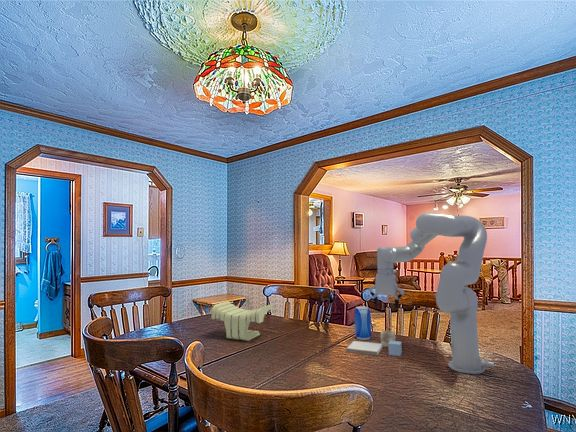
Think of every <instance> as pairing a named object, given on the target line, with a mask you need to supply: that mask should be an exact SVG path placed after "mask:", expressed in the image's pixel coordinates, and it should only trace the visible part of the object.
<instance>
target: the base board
mask: <svg viewBox="0 0 576 432" xmlns="http://www.w3.org/2000/svg"><path fill="white" fill-rule="evenodd" d="M383 348H384V346H383V343H381V342H374V341H373V342H372V341H365V340H353V341H352V342H351V343H350V344H349V345H348V347H346V349H345V352H346V353H352V354H359V355H367V356H376V357H377V356H379V353H380V352H381V351H382V349H383Z"/></svg>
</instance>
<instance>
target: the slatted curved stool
mask: <svg viewBox="0 0 576 432" xmlns="http://www.w3.org/2000/svg"><path fill="white" fill-rule="evenodd" d="M272 309H274V304H273V303H269V304H267V305H265V306H261V307H260V308H258V309H253V310H252V309H251V310H249V309H244V308H241V307H240V308H239V306H236V305H235V304H234V303H232V302H230V301H229V300H227V301H223V302H220V303H219V302H218V303H216V304H214V305H213V306H212V308H211V320H215V319H217V320H221V321H222V322H223V323H224V327H225V333H226V339H230V340H241V341H248V342H249V341H251V340H252V339H255V338H256V337H259V336H260V335H261V333H260V332H259V330H250V329H249V327H250V324H251V323H252V322H253V323H254V322H255V323H257V324H261V323H263V322H264V318H265V315H266V314H267V312H269V311H271V310H272Z"/></svg>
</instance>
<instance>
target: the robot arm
mask: <svg viewBox="0 0 576 432" xmlns="http://www.w3.org/2000/svg"><path fill="white" fill-rule="evenodd" d="M409 236H410V238H411V241H410V242H409V243H407V244H406V245H404V246H381V247H378V248H377V249H376V256H377V257H376V259H377V260H376V261H377V264H376V265H377V273H376V275H375V283H374V285H373V286H371V287H369V288H368V292H369V293H370V296H372V298H373V303H374V306H375V307H378V305H379V297H378V295H381V296H392V297H394V309H397V308H398V307H399V306H400V301H399V300H400V299H401V298H402V297H403V295H404V293H405V290H404V289H403V288H400V287H398V284H397V278H396V277H397V276H396V274H395V273H397V269H394V264H397V263H398V264H399V263H408V262H410V261H412V260H414V259H416V258H417V257H418V256H419V255H420V254H422V252H423V250H424V248H425V246H427V244H429V243H430V242H431V241H432V240H433V239H435V238H436V237H438V236H442V237H449V238H457V237H458V238H460V237H462V238H463V240H462V242H461V244H460V246H459V249H458V253H457V258H456V260H455V261H449V262H447V263H446V264H445V265H444V266H443V267H442V269H441V271H440V274H439V279H438V284H437V289H436V293H435V301H436V306H437V307H438V309H439V310H440V311H441V312H443V313H445V314H448V315H449V314H450V316H449V317H450V318H449V329H450V341H451V343H450V344H451V357H452V358H451V360H450V361H448V367H449V368H450V369H451V370H453V371H456V372H458V373H463V374H468V375H469V374H471V375H479V374H482V373H484V372H486V367H488V368H495V363H494V362H493V361H490V360H488V359H482V358H481V355H480V347H479V333H478V332H479V331H478V306H479V303H478V301H479V300H478V296H477V294H476V292H475V291H474V290H473V289H472V288H471V287H469V285H473V284H475V283H477V281H479V278H480V275H481V274H480V273H481V270H482V269H481V268H482V264H483V258H484V253H485V249H486V246H487V240H488V232H487V228H486V227H485V225H484V223H482V222H481V221H480V220H479V219H477V218H476V217H473V216H470V215H455V214H453V215H452V214H441V213H440V212H439V213H438V212H423V213H421V214H419V216H417V217H416V220H415V228H413V229H412V230H411V231H410V233H409ZM467 286H468V287H467ZM373 290H374V292H373ZM398 292H400V293H399V294H398Z"/></svg>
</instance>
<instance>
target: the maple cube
mask: <svg viewBox="0 0 576 432" xmlns="http://www.w3.org/2000/svg"><path fill="white" fill-rule="evenodd" d="M389 341H397V340H396V331H391V330H389V331H388V330H382V331H381V332H380V343H383V348H388V343H389Z"/></svg>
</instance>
